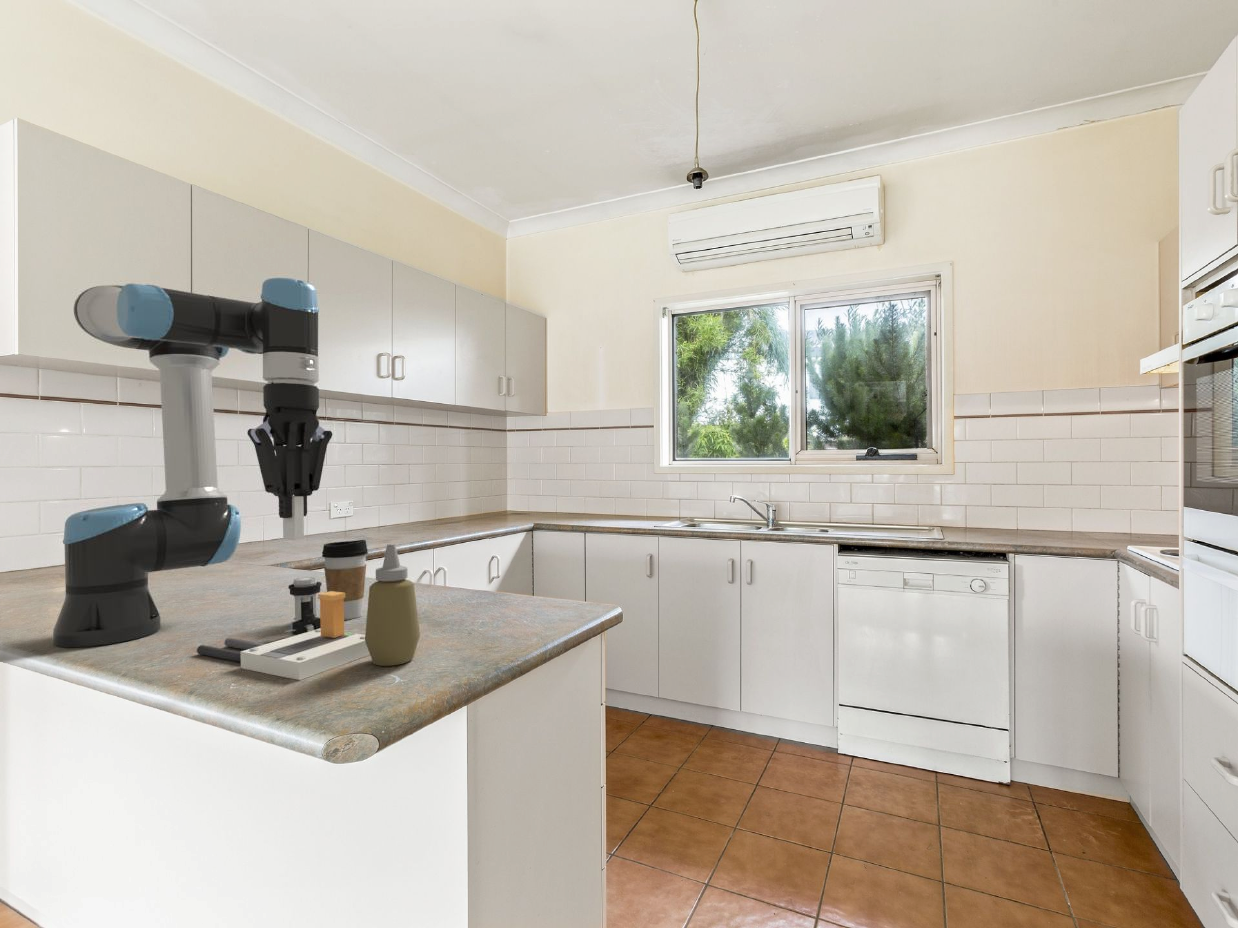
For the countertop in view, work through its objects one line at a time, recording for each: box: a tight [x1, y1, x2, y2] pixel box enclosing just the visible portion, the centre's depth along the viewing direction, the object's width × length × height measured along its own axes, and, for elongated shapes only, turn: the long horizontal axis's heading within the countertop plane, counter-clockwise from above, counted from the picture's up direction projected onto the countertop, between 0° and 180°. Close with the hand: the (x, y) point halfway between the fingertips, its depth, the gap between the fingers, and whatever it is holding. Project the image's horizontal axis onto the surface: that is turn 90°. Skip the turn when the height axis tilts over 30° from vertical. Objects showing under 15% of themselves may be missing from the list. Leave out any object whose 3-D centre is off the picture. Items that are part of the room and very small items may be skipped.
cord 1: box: [196, 644, 241, 663], centre depth 101 cm, size 13×1×1 cm, turn 64°
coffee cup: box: [321, 539, 369, 621], centre depth 127 cm, size 8×8×15 cm
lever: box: [317, 591, 345, 638], centre depth 103 cm, size 3×2×7 cm
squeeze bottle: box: [364, 543, 421, 667], centre depth 98 cm, size 8×8×18 cm
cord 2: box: [224, 637, 266, 651], centre depth 105 cm, size 13×1×1 cm, turn 64°
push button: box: [283, 576, 323, 639], centre depth 113 cm, size 7×5×10 cm
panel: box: [240, 628, 370, 681], centre depth 99 cm, size 13×14×3 cm
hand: (293, 538), depth 97 cm, fingers closed
